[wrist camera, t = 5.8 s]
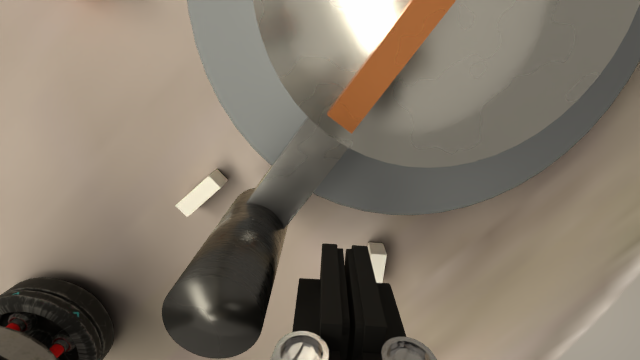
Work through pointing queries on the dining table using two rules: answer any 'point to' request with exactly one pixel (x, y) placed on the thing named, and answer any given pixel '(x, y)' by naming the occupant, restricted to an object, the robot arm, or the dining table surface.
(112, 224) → the dining table surface
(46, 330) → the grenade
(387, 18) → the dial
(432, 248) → the dining table surface
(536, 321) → the dining table surface
